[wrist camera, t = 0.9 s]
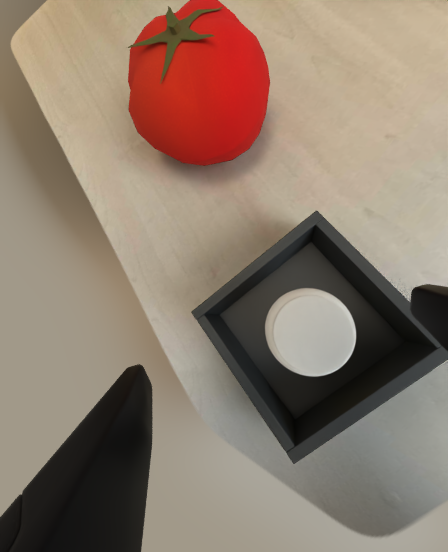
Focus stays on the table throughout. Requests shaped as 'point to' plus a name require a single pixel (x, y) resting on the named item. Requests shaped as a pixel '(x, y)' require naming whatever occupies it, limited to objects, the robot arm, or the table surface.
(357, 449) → the table surface
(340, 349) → the supplement bottle
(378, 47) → the table surface
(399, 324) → the bin
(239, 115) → the tomato
